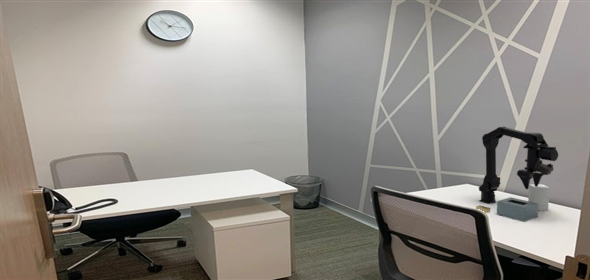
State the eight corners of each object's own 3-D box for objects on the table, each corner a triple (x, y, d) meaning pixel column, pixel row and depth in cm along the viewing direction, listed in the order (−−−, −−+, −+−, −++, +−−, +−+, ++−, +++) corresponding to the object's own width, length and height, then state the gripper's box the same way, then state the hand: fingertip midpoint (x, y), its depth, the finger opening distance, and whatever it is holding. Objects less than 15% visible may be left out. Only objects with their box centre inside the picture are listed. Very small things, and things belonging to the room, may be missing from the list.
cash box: (496, 214, 197) (497, 201, 196) (510, 210, 203) (510, 197, 202) (524, 221, 185) (525, 207, 184) (537, 216, 191) (538, 203, 190)
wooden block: (475, 210, 205) (476, 206, 204) (479, 209, 206) (479, 205, 206) (486, 213, 199) (486, 209, 199) (490, 212, 201) (490, 207, 201)
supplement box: (548, 210, 200) (549, 187, 198) (533, 210, 202) (534, 187, 200) (542, 206, 207) (543, 184, 206) (527, 206, 209) (528, 183, 207)
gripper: (541, 162, 181) (538, 194, 183) (560, 158, 191) (557, 188, 193) (517, 159, 191) (515, 189, 193) (536, 154, 200) (534, 183, 202)
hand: (531, 187), depth 195 cm, fingers open, 9 cm apart
